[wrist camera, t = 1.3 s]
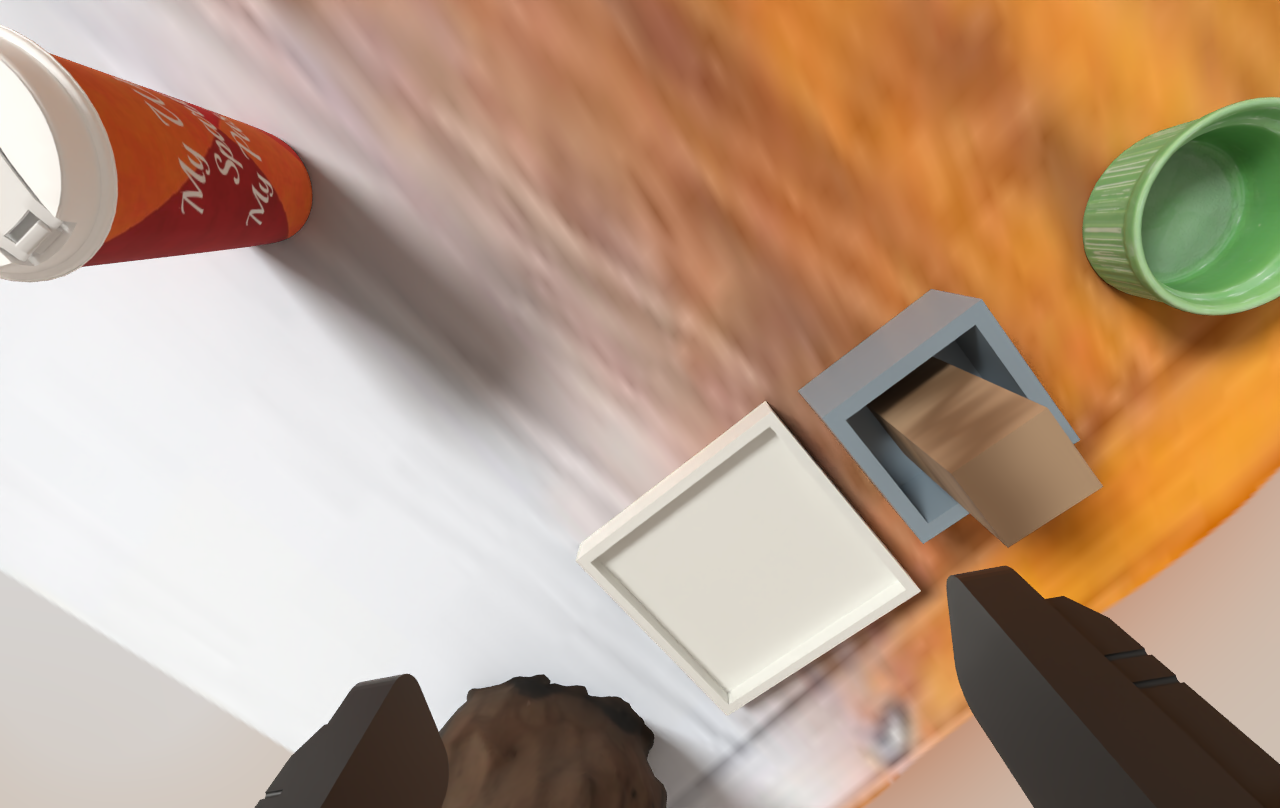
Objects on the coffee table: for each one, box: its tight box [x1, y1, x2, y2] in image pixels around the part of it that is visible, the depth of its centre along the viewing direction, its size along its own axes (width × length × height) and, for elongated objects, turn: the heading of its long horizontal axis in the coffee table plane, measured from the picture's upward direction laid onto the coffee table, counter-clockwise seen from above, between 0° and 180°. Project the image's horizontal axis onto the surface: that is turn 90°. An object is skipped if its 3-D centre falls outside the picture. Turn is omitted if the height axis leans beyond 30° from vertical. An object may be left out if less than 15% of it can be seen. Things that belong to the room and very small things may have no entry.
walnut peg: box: [866, 356, 1103, 547], centre depth 27 cm, size 4×4×10 cm
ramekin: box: [1083, 97, 1280, 315], centre depth 27 cm, size 9×9×4 cm
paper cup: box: [0, 25, 312, 282], centre depth 24 cm, size 8×8×14 cm
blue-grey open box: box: [798, 289, 1080, 544], centre depth 30 cm, size 9×9×5 cm
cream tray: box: [576, 401, 921, 716], centre depth 35 cm, size 14×14×2 cm
